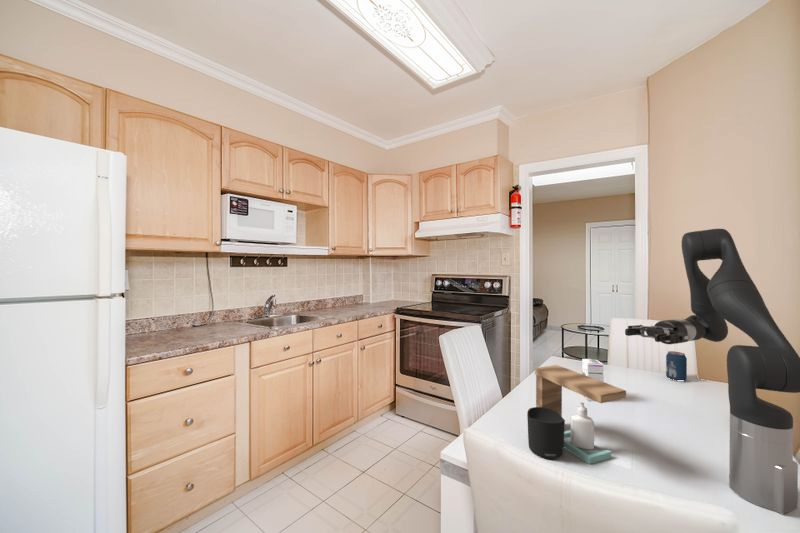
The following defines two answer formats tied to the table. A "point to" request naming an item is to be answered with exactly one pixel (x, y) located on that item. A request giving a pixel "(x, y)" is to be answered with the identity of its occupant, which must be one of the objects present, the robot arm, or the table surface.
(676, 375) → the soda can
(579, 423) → the eye dropper bottle
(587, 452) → the mint green tray
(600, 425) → the table surface
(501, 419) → the table surface
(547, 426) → the pen holder
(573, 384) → the shelf
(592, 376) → the syrup box
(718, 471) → the table surface
